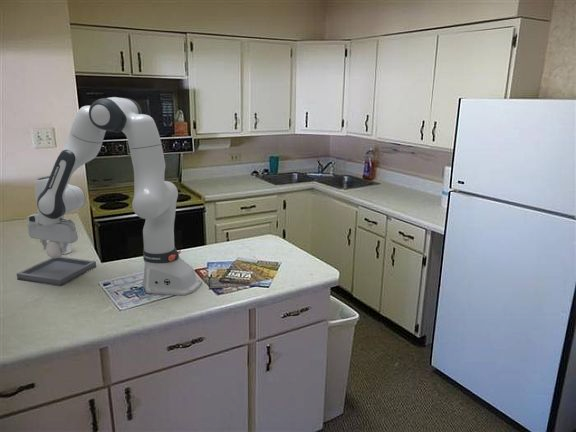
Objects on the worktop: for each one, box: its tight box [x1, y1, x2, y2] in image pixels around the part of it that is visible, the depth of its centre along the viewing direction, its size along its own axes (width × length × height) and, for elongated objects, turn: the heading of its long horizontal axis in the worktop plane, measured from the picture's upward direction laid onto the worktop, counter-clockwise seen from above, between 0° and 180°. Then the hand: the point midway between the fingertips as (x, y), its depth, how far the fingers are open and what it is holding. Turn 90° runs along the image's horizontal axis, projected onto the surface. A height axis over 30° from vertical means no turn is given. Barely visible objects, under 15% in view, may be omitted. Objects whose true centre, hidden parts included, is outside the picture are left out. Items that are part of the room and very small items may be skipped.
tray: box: [16, 255, 97, 287], centre depth 176 cm, size 20×20×2 cm
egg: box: [45, 240, 64, 258], centre depth 173 cm, size 6×6×8 cm
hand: (55, 250), depth 173 cm, fingers closed on egg, 6 cm apart
